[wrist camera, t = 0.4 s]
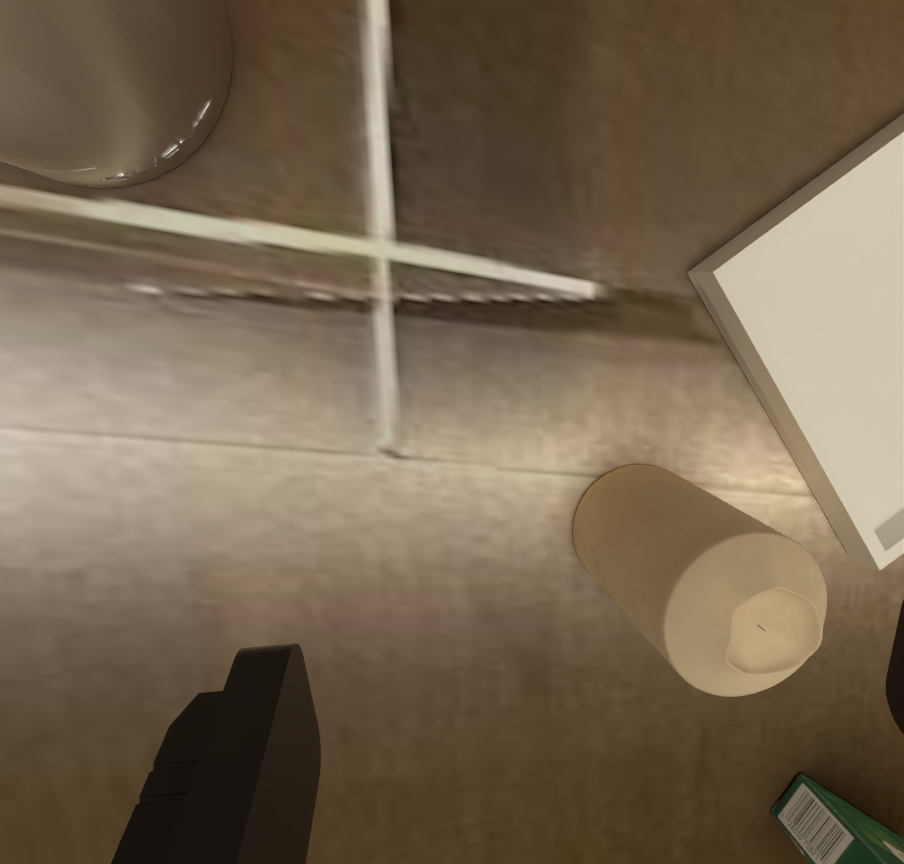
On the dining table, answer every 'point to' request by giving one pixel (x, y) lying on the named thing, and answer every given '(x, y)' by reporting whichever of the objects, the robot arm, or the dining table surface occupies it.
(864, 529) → the tray
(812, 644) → the candle
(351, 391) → the dining table surface
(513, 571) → the dining table surface
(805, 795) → the coffee box
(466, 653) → the dining table surface
